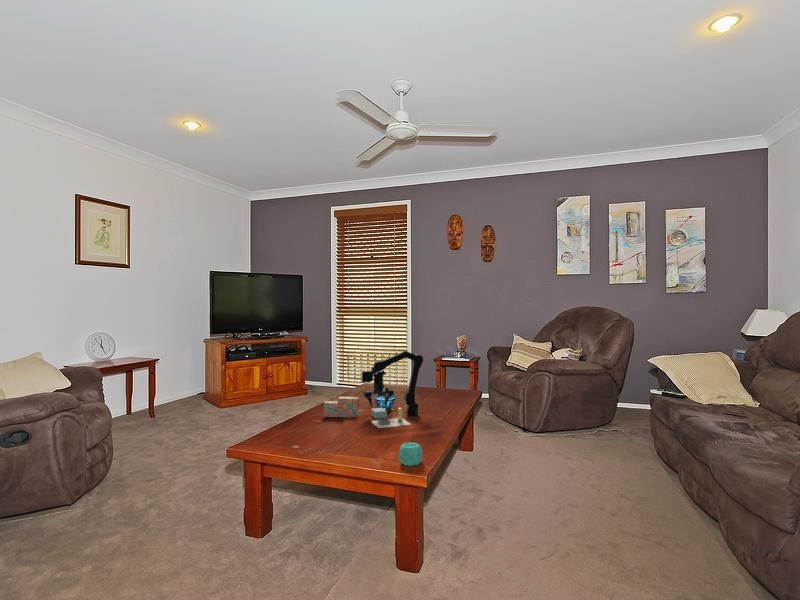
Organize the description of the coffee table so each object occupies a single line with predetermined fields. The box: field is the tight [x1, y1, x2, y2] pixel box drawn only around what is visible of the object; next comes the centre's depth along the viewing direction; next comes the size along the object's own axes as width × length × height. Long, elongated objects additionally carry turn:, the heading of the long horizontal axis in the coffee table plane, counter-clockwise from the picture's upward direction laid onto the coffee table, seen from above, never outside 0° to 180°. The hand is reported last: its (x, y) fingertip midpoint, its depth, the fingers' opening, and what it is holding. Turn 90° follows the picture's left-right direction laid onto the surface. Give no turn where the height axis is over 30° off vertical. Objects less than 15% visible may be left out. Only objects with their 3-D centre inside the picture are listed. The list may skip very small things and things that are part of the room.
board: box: [370, 417, 411, 429], centre depth 255 cm, size 20×15×4 cm
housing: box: [370, 407, 388, 420], centre depth 270 cm, size 7×9×6 cm
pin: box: [397, 407, 404, 422], centre depth 258 cm, size 3×3×8 cm
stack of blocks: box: [323, 396, 360, 419], centre depth 275 cm, size 21×6×12 cm, turn 85°
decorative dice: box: [398, 442, 423, 467], centre depth 196 cm, size 8×8×8 cm
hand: (378, 407), depth 270 cm, fingers open, 9 cm apart
